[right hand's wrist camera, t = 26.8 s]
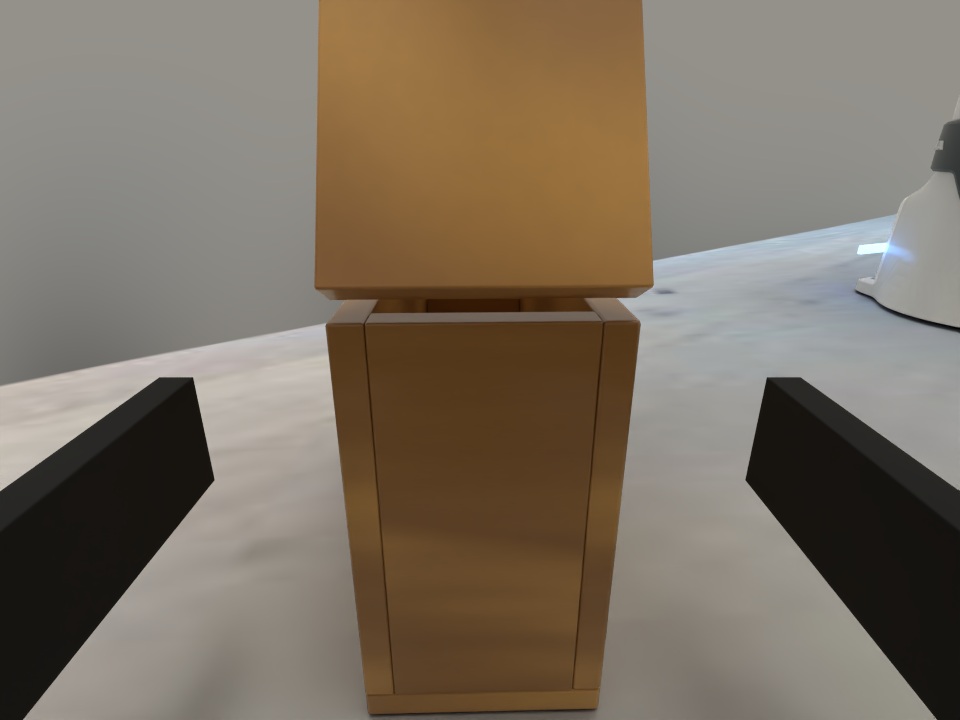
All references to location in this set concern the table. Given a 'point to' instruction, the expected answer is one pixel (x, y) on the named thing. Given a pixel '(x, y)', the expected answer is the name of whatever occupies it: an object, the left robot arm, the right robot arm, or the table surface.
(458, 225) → the lid
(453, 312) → the chest
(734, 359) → the table surface
